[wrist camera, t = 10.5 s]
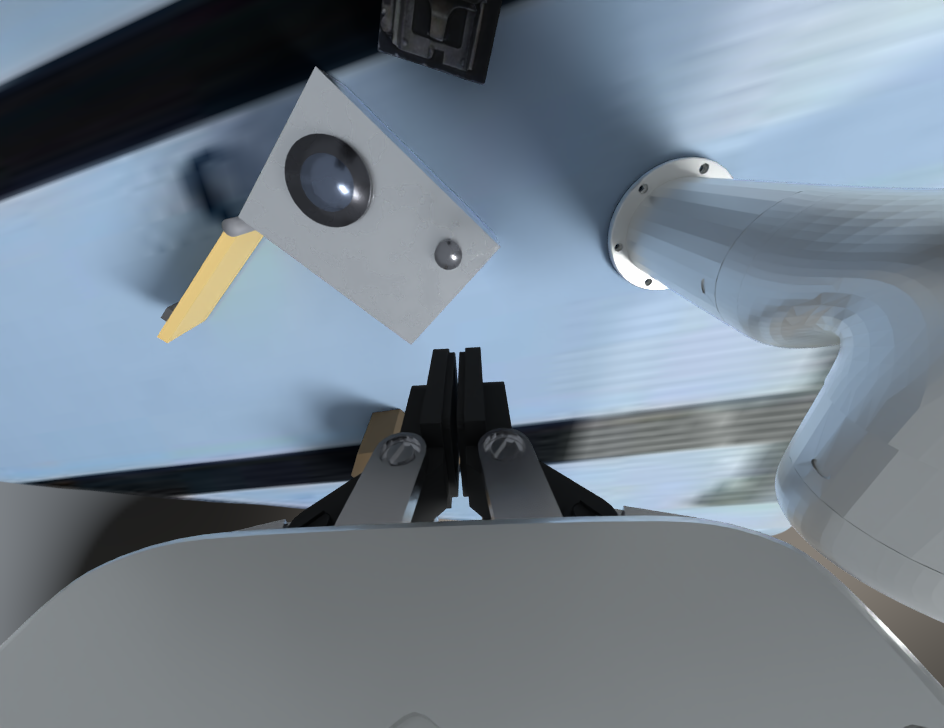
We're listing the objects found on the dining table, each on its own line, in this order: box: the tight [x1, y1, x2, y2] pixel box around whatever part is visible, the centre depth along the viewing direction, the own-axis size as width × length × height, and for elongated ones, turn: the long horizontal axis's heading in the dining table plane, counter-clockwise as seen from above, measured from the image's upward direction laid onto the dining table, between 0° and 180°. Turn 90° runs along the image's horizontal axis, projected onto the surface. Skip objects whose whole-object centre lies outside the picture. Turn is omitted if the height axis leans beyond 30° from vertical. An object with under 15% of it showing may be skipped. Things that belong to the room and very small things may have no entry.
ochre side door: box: [157, 217, 263, 343], centre depth 33 cm, size 16×2×7 cm, turn 134°
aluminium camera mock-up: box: [238, 66, 500, 344], centre depth 31 cm, size 18×13×8 cm
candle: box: [351, 409, 460, 477], centre depth 44 cm, size 14×14×15 cm
